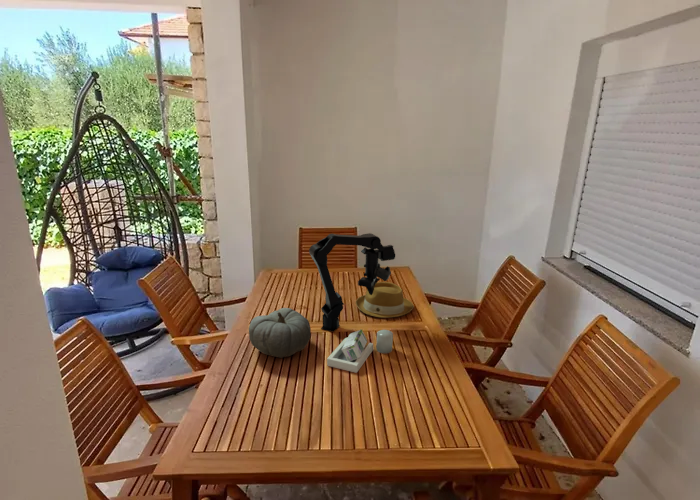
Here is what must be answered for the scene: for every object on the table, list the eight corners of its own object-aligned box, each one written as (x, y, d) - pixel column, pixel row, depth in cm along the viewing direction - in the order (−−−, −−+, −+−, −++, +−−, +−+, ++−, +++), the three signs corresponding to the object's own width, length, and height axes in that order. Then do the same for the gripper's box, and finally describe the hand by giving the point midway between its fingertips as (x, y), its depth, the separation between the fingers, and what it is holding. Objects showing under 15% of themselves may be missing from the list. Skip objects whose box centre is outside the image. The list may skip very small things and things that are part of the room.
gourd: (233, 352, 159) (238, 309, 156) (267, 333, 182) (272, 295, 179) (290, 371, 151) (297, 327, 148) (318, 349, 174) (324, 310, 171)
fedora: (368, 293, 222) (368, 273, 219) (419, 303, 210) (421, 281, 207) (346, 312, 199) (346, 290, 196) (402, 325, 187) (403, 301, 184)
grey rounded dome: (373, 350, 165) (374, 335, 163) (380, 343, 171) (380, 328, 168) (388, 355, 162) (389, 339, 160) (394, 347, 168) (395, 332, 166)
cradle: (327, 365, 155) (327, 358, 154) (345, 344, 170) (345, 337, 169) (356, 372, 150) (356, 365, 149) (372, 350, 166) (373, 343, 165)
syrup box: (367, 340, 167) (361, 357, 153) (355, 345, 169) (347, 362, 155) (361, 328, 167) (354, 344, 153) (349, 333, 168) (340, 349, 154)
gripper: (382, 271, 172) (381, 305, 176) (395, 258, 188) (394, 290, 193) (357, 267, 176) (357, 301, 180) (372, 255, 192) (371, 286, 197)
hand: (371, 294), depth 187 cm, fingers closed
